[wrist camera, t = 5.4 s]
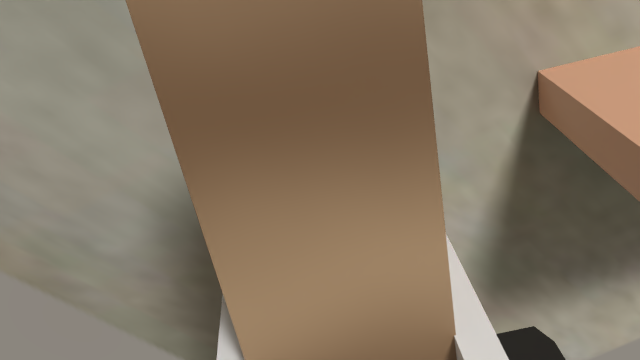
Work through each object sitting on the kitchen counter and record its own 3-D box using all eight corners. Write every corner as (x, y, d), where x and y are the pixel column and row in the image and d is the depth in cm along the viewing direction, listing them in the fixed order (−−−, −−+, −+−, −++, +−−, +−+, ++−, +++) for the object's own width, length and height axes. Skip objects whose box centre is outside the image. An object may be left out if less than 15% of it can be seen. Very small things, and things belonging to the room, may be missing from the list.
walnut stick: (150, -114, 11) (89, -109, 7) (353, -157, 11) (404, -175, 7) (330, 515, 21) (347, 669, 17) (443, 493, 21) (487, 641, 17)
